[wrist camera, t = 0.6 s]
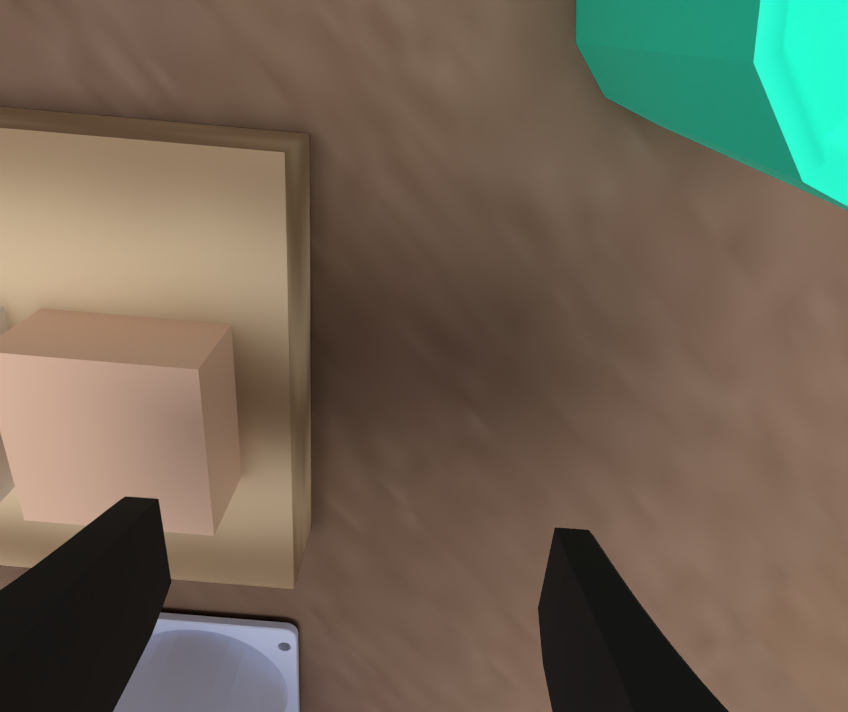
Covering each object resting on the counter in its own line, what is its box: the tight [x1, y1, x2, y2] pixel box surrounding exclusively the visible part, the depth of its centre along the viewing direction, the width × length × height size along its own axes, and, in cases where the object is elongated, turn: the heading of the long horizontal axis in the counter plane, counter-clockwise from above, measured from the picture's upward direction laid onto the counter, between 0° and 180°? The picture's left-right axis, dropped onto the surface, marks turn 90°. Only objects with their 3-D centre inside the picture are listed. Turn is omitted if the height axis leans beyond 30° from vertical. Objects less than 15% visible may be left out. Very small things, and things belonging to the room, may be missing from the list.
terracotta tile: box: [0, 308, 241, 536], centre depth 17 cm, size 5×5×2 cm
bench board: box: [0, 107, 311, 589], centre depth 19 cm, size 14×14×3 cm
